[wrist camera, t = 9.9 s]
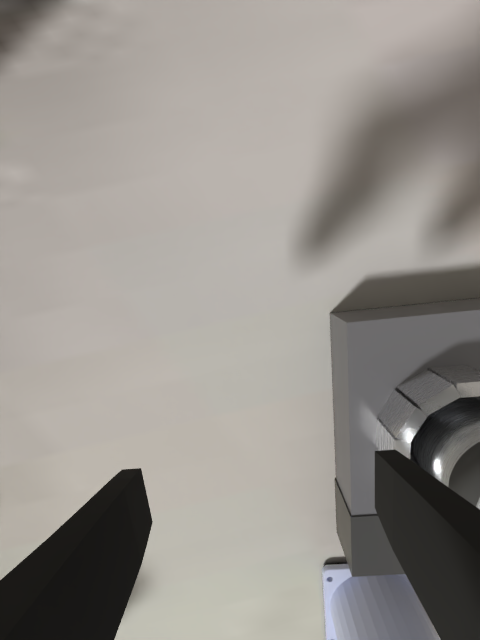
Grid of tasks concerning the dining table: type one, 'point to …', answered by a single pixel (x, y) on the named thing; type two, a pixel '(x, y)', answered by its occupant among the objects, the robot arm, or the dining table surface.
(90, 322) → the dining table surface
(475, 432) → the lens
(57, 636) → the robot arm
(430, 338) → the camera body
